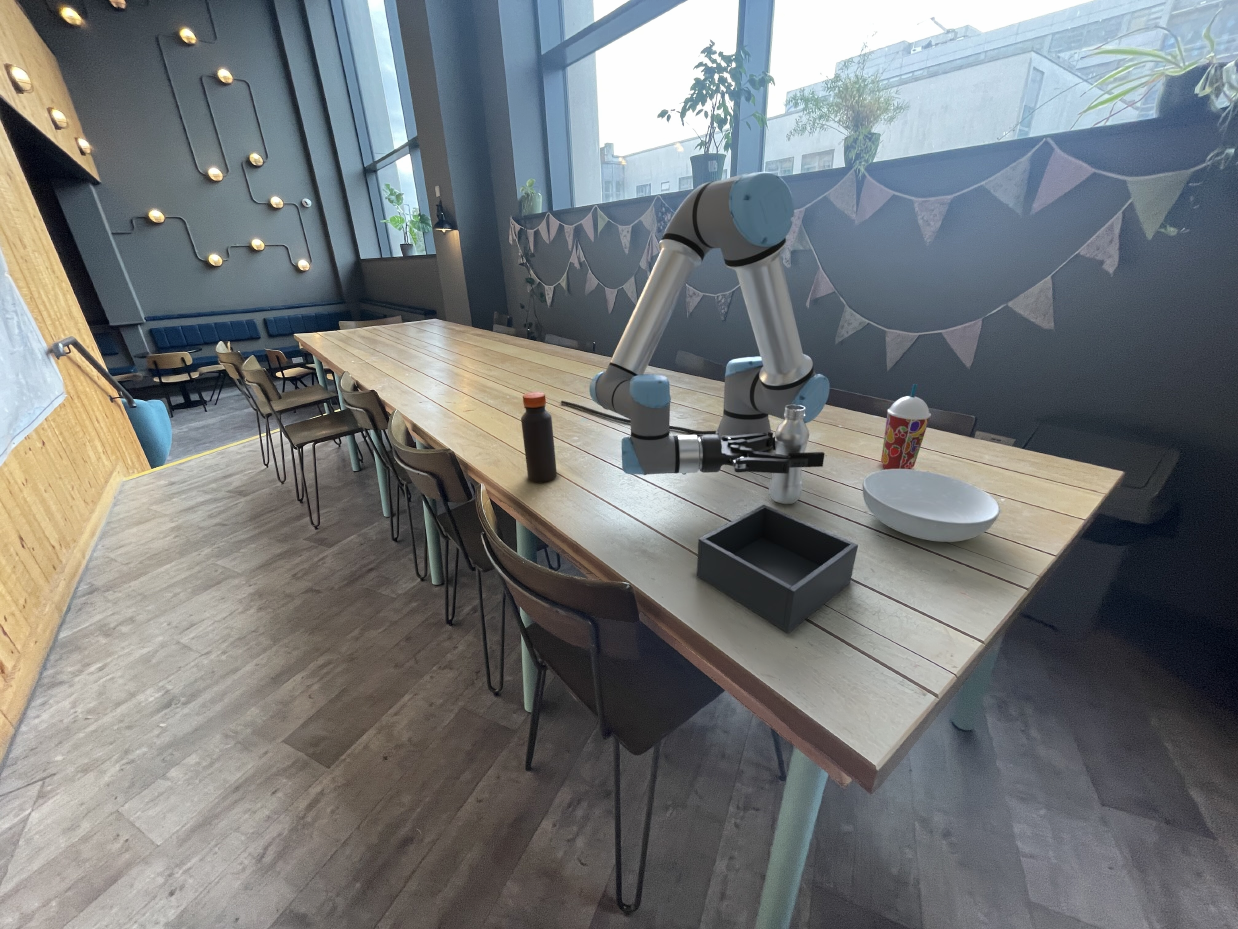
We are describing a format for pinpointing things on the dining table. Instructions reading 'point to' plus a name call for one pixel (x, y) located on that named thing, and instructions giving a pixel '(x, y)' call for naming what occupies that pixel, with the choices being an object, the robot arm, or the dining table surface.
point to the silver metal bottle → (788, 440)
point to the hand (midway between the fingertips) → (813, 450)
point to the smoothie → (904, 432)
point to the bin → (776, 565)
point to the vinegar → (538, 438)
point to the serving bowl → (929, 504)
